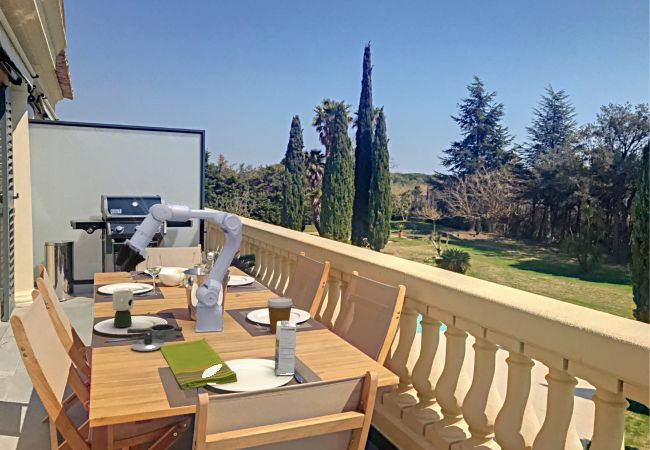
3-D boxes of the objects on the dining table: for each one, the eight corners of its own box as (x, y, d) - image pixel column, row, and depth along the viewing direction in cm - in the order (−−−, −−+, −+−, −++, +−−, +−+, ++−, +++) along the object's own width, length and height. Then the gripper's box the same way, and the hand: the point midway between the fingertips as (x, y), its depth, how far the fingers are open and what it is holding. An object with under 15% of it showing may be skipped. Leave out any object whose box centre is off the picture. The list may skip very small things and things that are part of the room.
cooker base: (182, 332, 185) (182, 323, 184) (181, 340, 176) (182, 330, 176) (129, 335, 180) (129, 325, 180) (125, 342, 172) (125, 332, 171)
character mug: (131, 330, 186) (131, 294, 185) (110, 331, 184) (110, 295, 183) (134, 322, 197) (134, 288, 196) (115, 322, 195) (114, 289, 194)
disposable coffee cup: (296, 330, 192) (297, 298, 191) (284, 336, 184) (284, 303, 183) (274, 326, 196) (275, 295, 195) (261, 332, 188) (261, 300, 187)
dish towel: (181, 392, 134) (181, 380, 134) (159, 351, 166) (159, 341, 166) (238, 384, 141) (238, 372, 141) (206, 345, 173) (206, 336, 173)
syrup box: (274, 368, 152) (275, 320, 151) (294, 368, 152) (296, 320, 151) (274, 376, 146) (275, 325, 145) (295, 376, 147) (296, 326, 145)
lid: (164, 342, 173) (165, 327, 173) (163, 352, 164) (163, 336, 163) (133, 344, 171) (133, 328, 170) (129, 354, 161) (129, 337, 161)
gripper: (127, 224, 179) (104, 257, 177) (143, 233, 169) (119, 269, 166) (143, 233, 184) (121, 266, 181) (160, 243, 174) (137, 278, 171)
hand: (121, 268), depth 174 cm, fingers open, 7 cm apart
